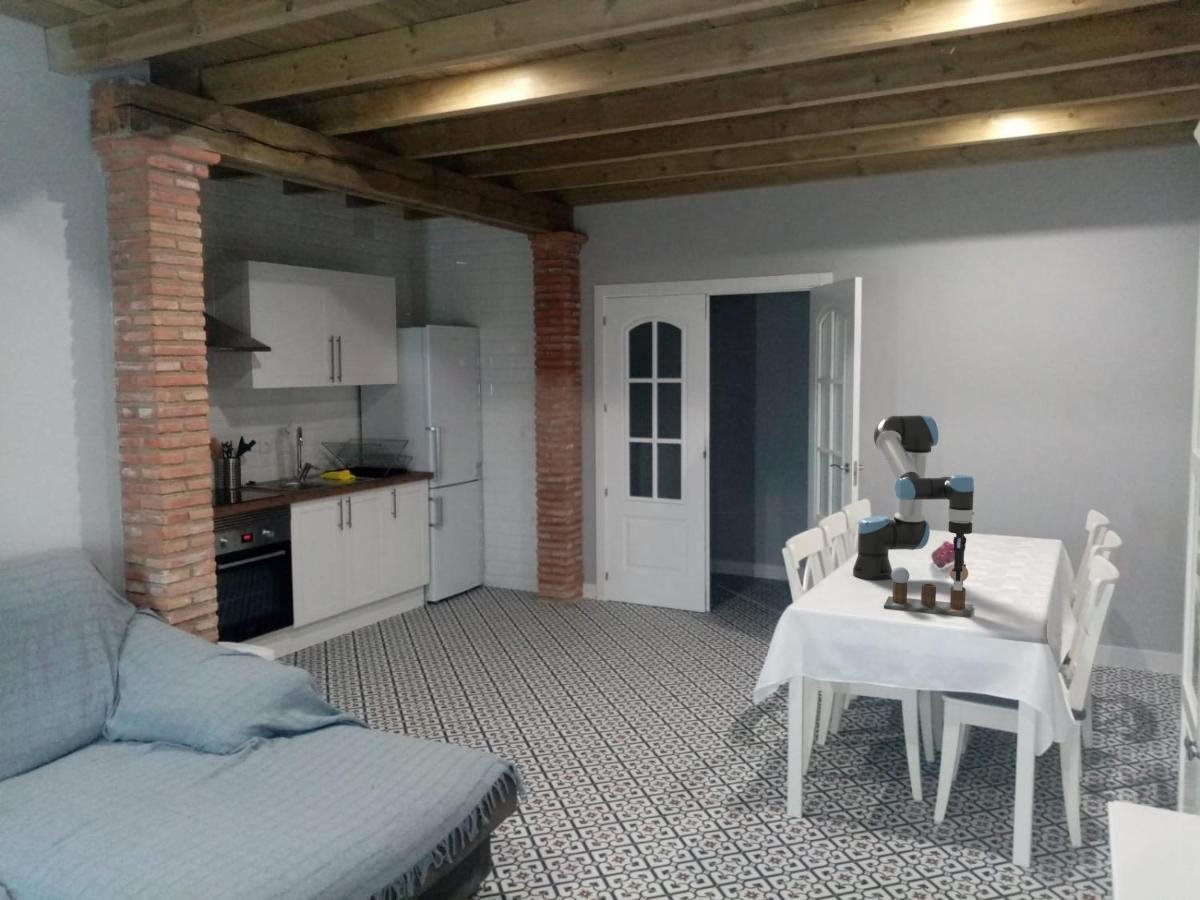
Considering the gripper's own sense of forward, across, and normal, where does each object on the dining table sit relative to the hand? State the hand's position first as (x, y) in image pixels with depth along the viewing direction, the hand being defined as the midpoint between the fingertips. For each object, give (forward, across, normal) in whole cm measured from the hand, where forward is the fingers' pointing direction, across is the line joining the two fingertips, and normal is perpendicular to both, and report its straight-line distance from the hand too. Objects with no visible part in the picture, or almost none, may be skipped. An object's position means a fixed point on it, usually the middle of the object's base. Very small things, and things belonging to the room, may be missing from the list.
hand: (958, 587), depth 313 cm
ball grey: (+1, 0, +19) cm, 19 cm away
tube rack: (+8, 0, +10) cm, 12 cm away
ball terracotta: (-2, 0, 0) cm, 2 cm away
